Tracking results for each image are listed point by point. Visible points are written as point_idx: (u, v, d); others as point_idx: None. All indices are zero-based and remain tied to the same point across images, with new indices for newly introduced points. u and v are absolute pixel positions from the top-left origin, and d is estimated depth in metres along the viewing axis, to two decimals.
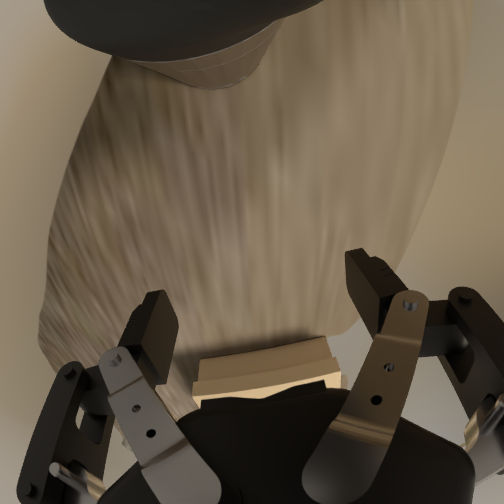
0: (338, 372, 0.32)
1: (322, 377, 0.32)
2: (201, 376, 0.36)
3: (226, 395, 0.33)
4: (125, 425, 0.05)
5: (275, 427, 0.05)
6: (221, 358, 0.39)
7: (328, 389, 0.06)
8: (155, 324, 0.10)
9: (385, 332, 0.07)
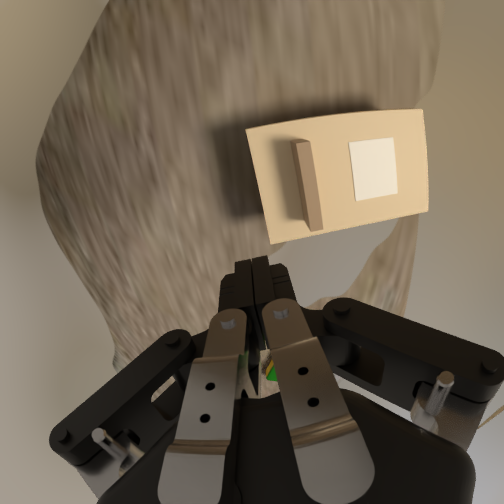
0: (420, 111, 0.23)
1: (405, 112, 0.24)
2: None
3: (294, 127, 0.24)
4: (189, 397, 0.06)
5: (275, 427, 0.05)
6: None
7: None
8: (254, 289, 0.11)
9: (274, 345, 0.08)
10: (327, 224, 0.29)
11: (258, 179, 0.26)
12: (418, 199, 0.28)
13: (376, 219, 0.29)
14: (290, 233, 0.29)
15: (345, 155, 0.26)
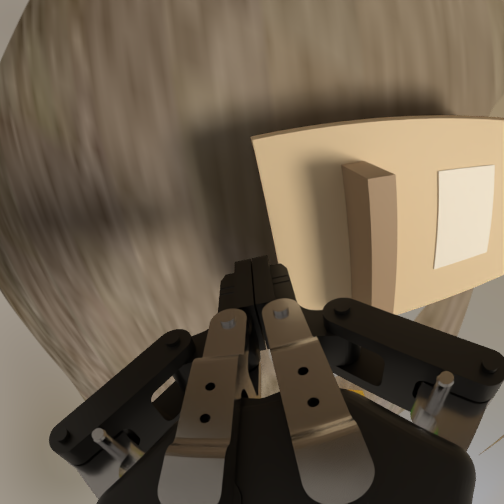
0: None
1: None
2: None
3: (351, 138, 0.12)
4: (189, 397, 0.06)
5: (275, 427, 0.05)
6: None
7: None
8: (254, 289, 0.11)
9: (274, 345, 0.08)
10: None
11: (276, 240, 0.14)
12: None
13: (453, 291, 0.16)
14: None
15: (431, 194, 0.13)
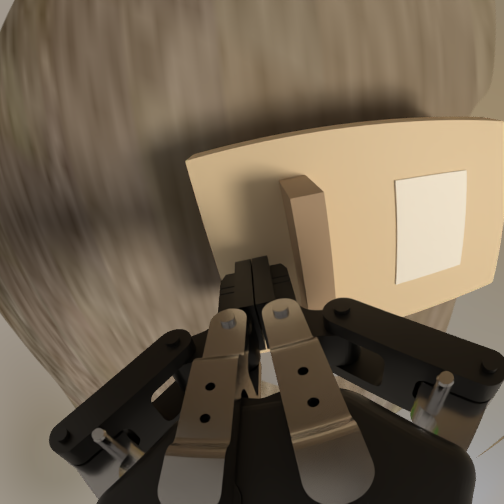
0: (503, 124, 0.11)
1: (485, 126, 0.11)
2: None
3: (288, 151, 0.12)
4: (189, 397, 0.06)
5: (275, 427, 0.05)
6: None
7: None
8: (254, 289, 0.11)
9: (274, 345, 0.08)
10: None
11: (217, 258, 0.14)
12: (484, 268, 0.15)
13: (422, 306, 0.16)
14: None
15: (387, 206, 0.13)
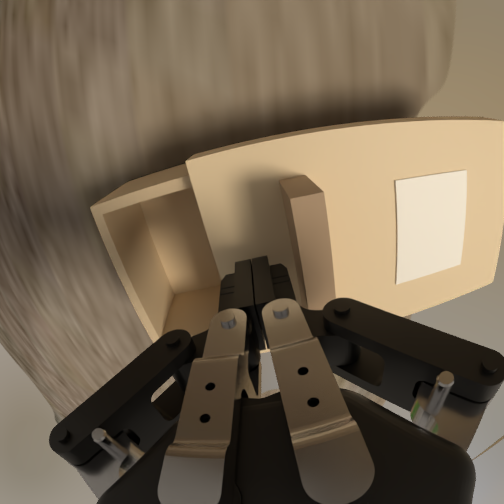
0: (503, 124, 0.11)
1: (485, 126, 0.11)
2: (116, 191, 0.16)
3: (288, 152, 0.12)
4: (189, 397, 0.06)
5: (275, 427, 0.05)
6: (167, 169, 0.18)
7: None
8: (254, 289, 0.11)
9: (274, 345, 0.08)
10: None
11: (217, 258, 0.14)
12: (484, 267, 0.15)
13: (423, 306, 0.16)
14: None
15: (387, 206, 0.13)
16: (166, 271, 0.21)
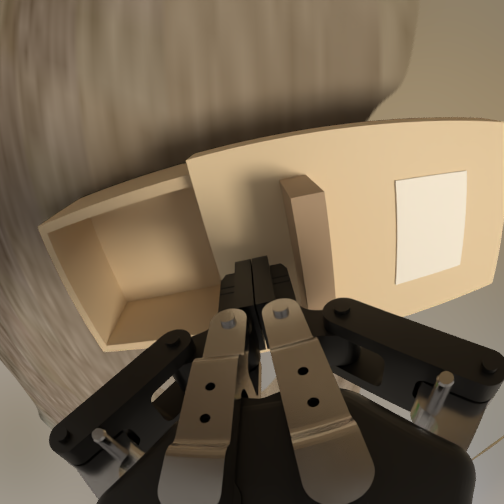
0: (503, 125, 0.11)
1: (485, 127, 0.11)
2: (64, 209, 0.16)
3: (289, 151, 0.12)
4: (189, 397, 0.06)
5: (275, 427, 0.05)
6: (112, 186, 0.19)
7: None
8: (254, 289, 0.11)
9: (274, 345, 0.08)
10: None
11: (217, 257, 0.14)
12: (484, 268, 0.15)
13: (422, 307, 0.16)
14: None
15: (387, 206, 0.13)
16: (118, 281, 0.22)
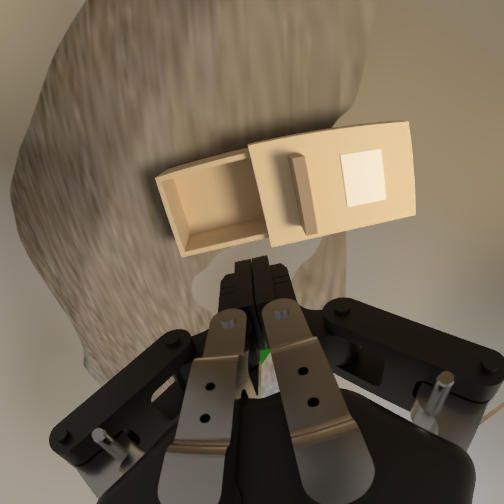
0: (406, 123, 0.27)
1: (392, 125, 0.27)
2: (164, 172, 0.32)
3: (291, 142, 0.28)
4: (189, 397, 0.06)
5: (275, 427, 0.05)
6: (190, 162, 0.35)
7: None
8: (254, 289, 0.11)
9: (274, 345, 0.08)
10: (322, 228, 0.32)
11: (259, 189, 0.30)
12: (405, 204, 0.31)
13: (367, 223, 0.32)
14: (289, 237, 0.32)
15: (337, 166, 0.29)
16: (187, 220, 0.38)
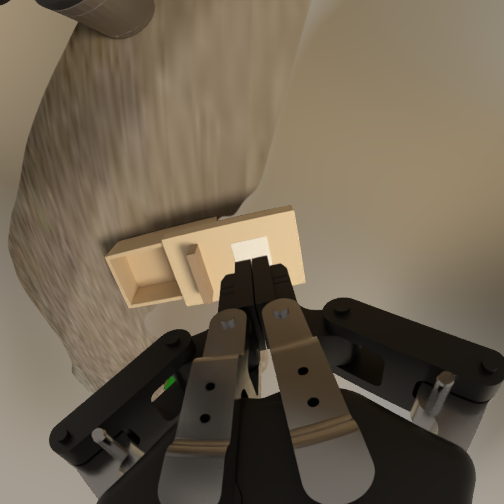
0: (292, 212, 0.38)
1: (277, 216, 0.38)
2: (113, 248, 0.44)
3: (191, 237, 0.39)
4: (189, 397, 0.06)
5: (275, 427, 0.05)
6: (132, 238, 0.46)
7: None
8: (254, 289, 0.11)
9: (274, 345, 0.08)
10: None
11: (173, 269, 0.41)
12: (294, 275, 0.43)
13: None
14: (198, 300, 0.44)
15: (229, 252, 0.40)
16: (135, 277, 0.49)
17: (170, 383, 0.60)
